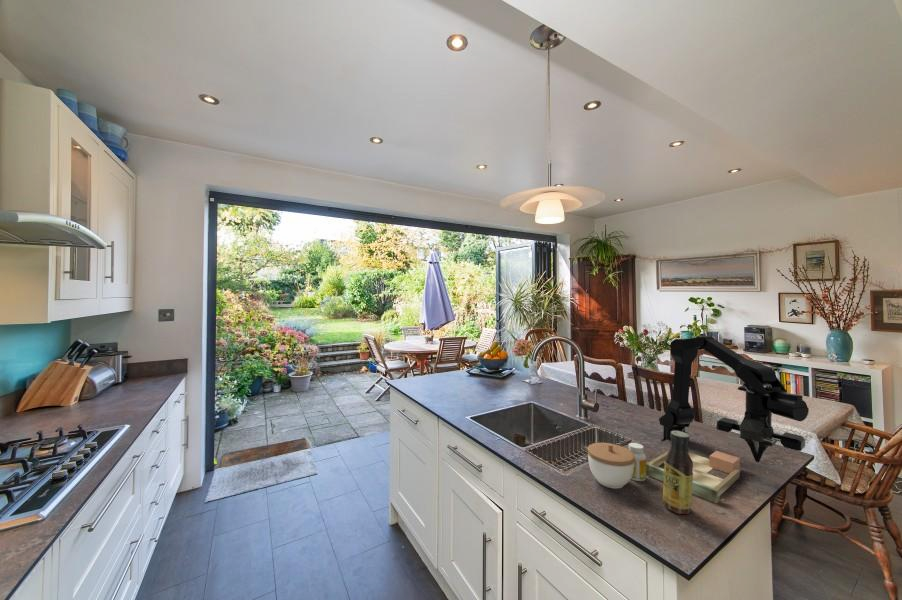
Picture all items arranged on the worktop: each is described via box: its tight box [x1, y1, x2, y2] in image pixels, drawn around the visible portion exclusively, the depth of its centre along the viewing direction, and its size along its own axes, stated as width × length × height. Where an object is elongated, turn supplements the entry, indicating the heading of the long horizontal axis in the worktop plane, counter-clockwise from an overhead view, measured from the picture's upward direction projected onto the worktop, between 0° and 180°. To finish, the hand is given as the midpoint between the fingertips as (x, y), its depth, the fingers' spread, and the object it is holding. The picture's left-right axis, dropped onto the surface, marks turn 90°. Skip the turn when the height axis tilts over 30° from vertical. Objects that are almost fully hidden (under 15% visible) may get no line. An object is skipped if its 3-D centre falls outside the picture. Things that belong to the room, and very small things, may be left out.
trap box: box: [646, 450, 742, 504], centre depth 105 cm, size 18×25×3 cm
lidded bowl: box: [587, 442, 635, 490], centre depth 101 cm, size 13×13×11 cm
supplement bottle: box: [628, 442, 647, 482], centre depth 103 cm, size 5×5×10 cm
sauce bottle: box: [662, 431, 693, 515], centre depth 88 cm, size 7×6×20 cm
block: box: [709, 450, 741, 475], centre depth 106 cm, size 6×6×4 cm
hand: (757, 461), depth 100 cm, fingers closed
